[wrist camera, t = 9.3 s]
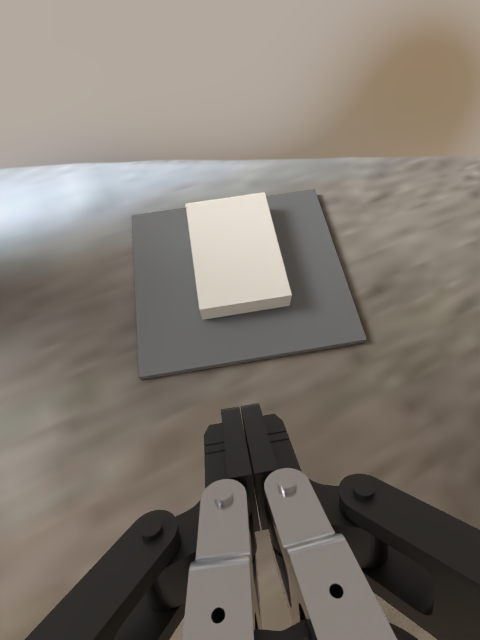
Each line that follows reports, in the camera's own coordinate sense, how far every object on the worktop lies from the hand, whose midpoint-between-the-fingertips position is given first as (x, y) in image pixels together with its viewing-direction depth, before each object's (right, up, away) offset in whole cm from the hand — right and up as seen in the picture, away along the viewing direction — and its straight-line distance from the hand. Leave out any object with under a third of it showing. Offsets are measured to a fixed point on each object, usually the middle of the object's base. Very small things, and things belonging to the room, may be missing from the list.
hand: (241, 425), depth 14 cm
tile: (0, +5, +17) cm, 18 cm away
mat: (0, +8, +21) cm, 23 cm away
